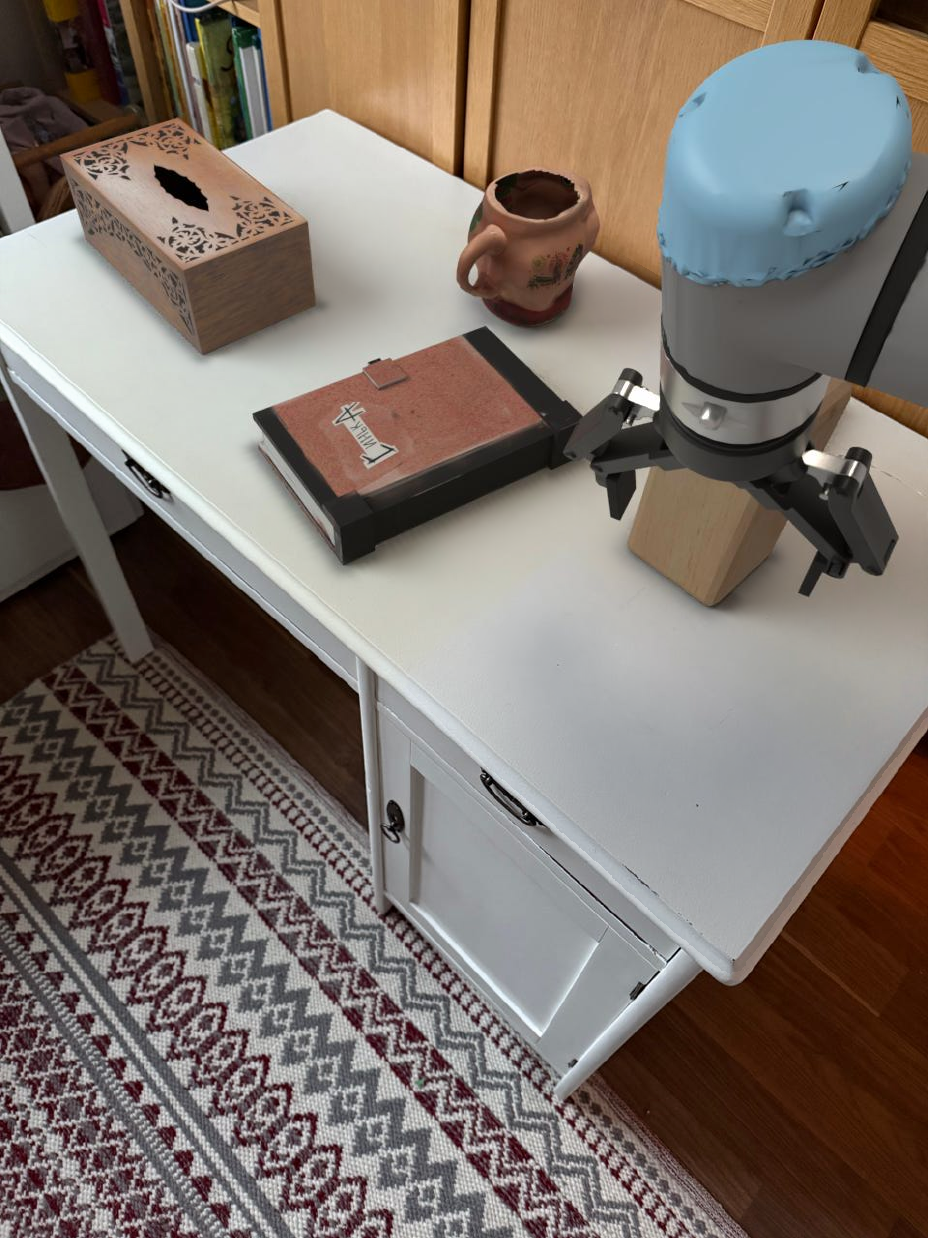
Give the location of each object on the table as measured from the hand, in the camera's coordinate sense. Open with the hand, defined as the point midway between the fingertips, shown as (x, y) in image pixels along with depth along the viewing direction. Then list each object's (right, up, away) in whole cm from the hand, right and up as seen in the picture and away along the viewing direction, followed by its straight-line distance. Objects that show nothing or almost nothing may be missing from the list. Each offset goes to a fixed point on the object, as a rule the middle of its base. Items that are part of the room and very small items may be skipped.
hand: (714, 539), depth 62 cm
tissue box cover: (-48, +34, +41) cm, 72 cm away
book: (-22, +11, +26) cm, 36 cm away
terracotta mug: (-11, +29, +40) cm, 51 cm away
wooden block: (+4, 0, +21) cm, 21 cm away
